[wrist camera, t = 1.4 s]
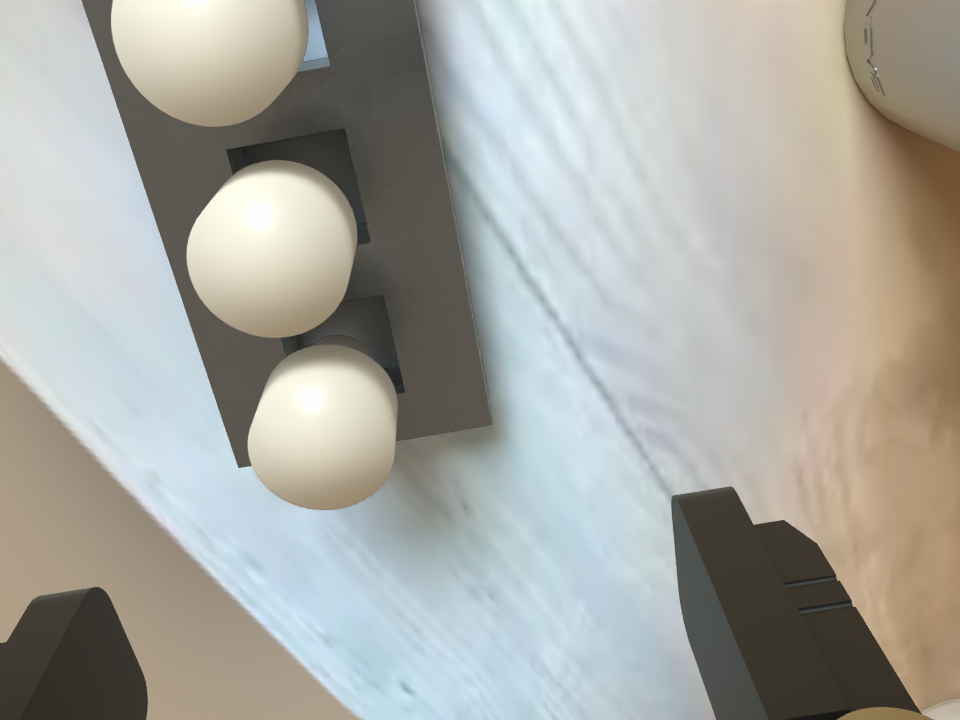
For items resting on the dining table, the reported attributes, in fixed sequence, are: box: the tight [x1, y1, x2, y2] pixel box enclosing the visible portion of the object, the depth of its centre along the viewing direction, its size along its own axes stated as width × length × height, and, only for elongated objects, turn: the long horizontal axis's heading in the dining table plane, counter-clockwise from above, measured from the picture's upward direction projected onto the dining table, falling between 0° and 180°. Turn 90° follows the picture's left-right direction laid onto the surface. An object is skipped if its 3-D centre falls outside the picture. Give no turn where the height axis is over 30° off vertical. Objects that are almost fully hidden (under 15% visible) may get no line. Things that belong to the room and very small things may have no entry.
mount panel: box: [82, 0, 492, 468], centre depth 32 cm, size 10×20×2 cm, turn 10°
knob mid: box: [187, 160, 357, 338], centre depth 28 cm, size 4×4×6 cm
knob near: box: [111, 0, 308, 127], centre depth 25 cm, size 4×4×6 cm
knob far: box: [248, 335, 398, 510], centre depth 30 cm, size 4×4×6 cm
